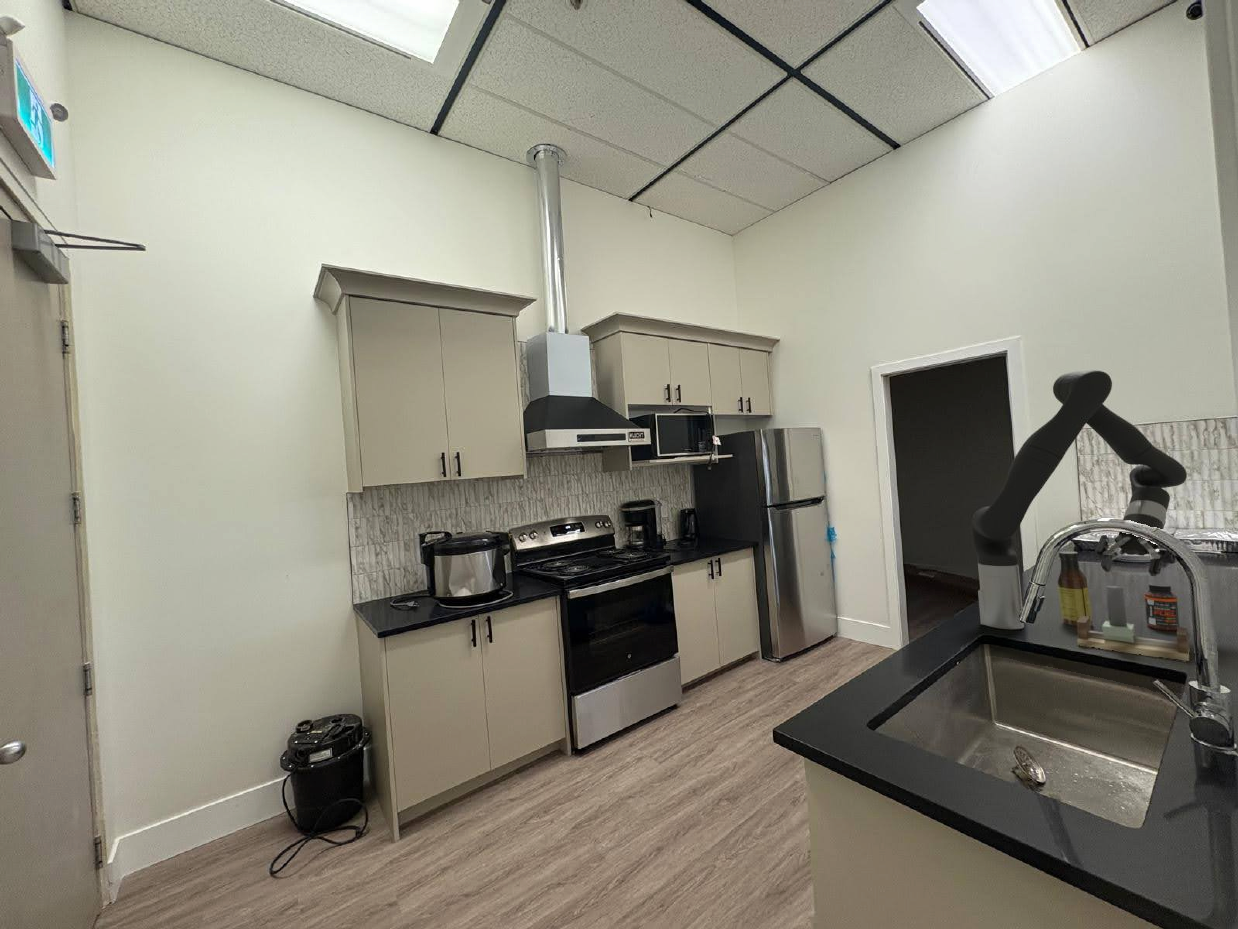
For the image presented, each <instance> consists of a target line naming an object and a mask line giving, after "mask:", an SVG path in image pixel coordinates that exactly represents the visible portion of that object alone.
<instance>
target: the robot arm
mask: <svg viewBox="0 0 1238 929" xmlns="http://www.w3.org/2000/svg"><path fill="white" fill-rule="evenodd" d="M1112 381H1113V380H1112V378H1111V376H1110V375H1109V373H1107V372H1104V370H1103V371H1102V370H1081V371H1073V372H1072V371H1071V372H1067V373H1066V372H1065V373H1064V374H1062V375H1060V376H1058V377H1057V379H1055V381H1054V383H1053V386H1052V392H1053V395H1054V397H1055V398H1056V400H1057V401H1058V402H1060V403H1061V404H1062V405H1061V406H1060V408H1059V410H1058V411H1057V413H1056V414H1055V415H1054V416H1052V418H1051V419H1049V420H1048V421H1047V422H1046V423H1045V424H1043V425H1042V426H1041V427H1040V428H1038V429H1037V430H1036V431H1034V432H1033V433H1032V434H1031V435H1030V436H1029V437H1028V438H1027V439H1026V440H1025V441H1024V443H1023V444H1022V445H1021V447H1020V449H1019V451H1018V452H1017V453H1016V455H1014V456H1015V457H1014V459H1013V460H1012V462H1011V464H1010V468H1009V470H1008V474H1007V477H1006V479H1005V480H1006V481H1005V483H1004V486H1003V487H1002V489H1001V491H1000V492H999V494H998V495H997V497H996V498H995V499H994V501H993V502H992V503H991V505H989V506H983V507H981V508H979V509H978V510H976V511H975V512H974V514H973V516H972V520H971V527H972V528H971V529H972V536H973V545H974V546H973V547H974V551H975V555H976V558H977V568H978V579H979V588H980V589H979V590H978V591H977V594H978V595H977V596H978V597H977V598H978V609H979V619H980V624H981V625H983V626H987V627H990V628H996V629H1002V630H1020V629H1023V628H1025V623H1021V622H1020V619H1019V615H1020V611H1021V609H1023V600H1022V591H1021V578H1020V569H1019V559H1018V558H1019V557H1018V556H1019V555H1018V554H1017V553H1016V550H1015V548H1014V545H1013V543H1014V542H1013V536H1014V535H1015V534H1016V533H1017V531H1018V530H1019V528H1020V526H1021V524H1022V522H1023V520H1024V518H1025V516H1026V514H1027V512H1028V510H1029V508H1030V506H1031V504H1032V503H1033V500H1034V499H1035V498H1036V496H1038V494H1039V493H1040V491H1042V489H1043V487H1044V485H1045V484H1047V481H1048V480H1049V479H1050V477H1051V476H1052V475H1053V474H1054V472H1055V470H1056V469H1057V467H1058V466H1059V464H1060V463H1061V461H1062V460H1063V459H1064V457H1065V455H1066V453H1067V452H1068V450H1069V449H1070V447H1071V446H1072V444H1073V443H1074V442H1075V440H1076V438H1077V437H1078V435H1079V434H1080V432H1081V431H1082V430H1083V428H1084V427H1085V426H1086V425H1088V426H1089V427H1090V428H1091V429H1092V430H1093V431H1094V432H1095V433H1097V434H1098V435H1099V437H1101V438H1102V440H1103V441H1105V443H1106V444H1108V446H1109V447H1110V448H1111V449H1112V450H1113V452H1114V453H1115V454H1116V455H1117V456H1118V458H1120V460H1121V461H1122V462H1123V463H1125V464H1127V465H1132V466H1135V465H1136V466H1135V467H1134V468H1132V470H1131V471H1130V473H1129V482H1130V488H1131V497H1130V500H1129V504H1128V506H1127V508H1126V510H1125V512H1124V515H1123V518H1122V521H1123V520H1131V521H1134V522H1137V523H1141V524H1146V525H1148V526H1150V527H1157V528H1160V529H1163V530H1164V528H1165V526H1166V523H1167V522H1166V520H1167V511H1168V507H1169V504H1170V500H1171V495H1170V494H1169V492H1168V491H1167V490H1165V489H1166V488H1172V487H1177V486H1180V485H1182V484H1184V483H1185V482H1186V480H1187V477H1188V475H1187V471H1186V469H1185V467H1184V466H1183V464H1182V463H1180V462H1179V461H1178V460H1177V459H1175V458H1173V457H1172V456H1170V455H1169V454H1166V453H1165V452H1163V451H1162V450H1160V449H1159V448H1157V447H1155V446H1154V445H1153V443H1151V441H1149V439H1148V438H1147V437H1146V436H1145V435H1144V434H1143V433H1142V432H1141V430H1140V429H1138V428H1137V427H1136V426H1135V425H1133V423H1131V422H1129V421H1128V420H1126V419H1124V418H1123V417H1121V416H1120V415H1118V414H1117V413H1115V412H1114V411H1112V410H1110V409H1109V407H1107V406H1106V405H1104V402H1105V401H1106V400H1107V398H1108V397H1109V395H1110V393H1111V391H1112V388H1113V382H1112ZM1164 488H1165V489H1164ZM1095 547H1096V548H1095V550H1094V552H1095V554H1096V555H1097V557H1098V558H1099V559H1101V562H1100V567H1101V568H1102V570H1103V571H1104V572H1106V573H1110V571H1111V568H1112V566H1113V562H1114V560H1116V559H1117V558H1122V557H1124V556H1125V555H1128V556H1129V555H1131V556H1134V555H1137V556H1145V555H1148V556H1149V557H1150V558H1151V560H1150V565H1149V567H1148V573H1149V575H1150V576H1151V577H1156V576H1157V575H1160V574H1161V570H1162V567H1163V565H1164V564H1175V563H1176V558H1177V557H1176V558H1174V556H1173V555H1171V554H1170V552H1168V551H1165V550H1164V554H1161V555H1160V554H1159V553H1158V552H1157V551H1156V550H1157V549H1158V548H1160V547H1158V546H1157V545H1156V544H1153V543H1151V542H1150V541H1146V540H1145V539H1143V538H1141V537H1136V536H1134V535H1132V534H1126V533H1122V532H1119V531H1118V534H1117V536H1115V537H1110V536H1109V537H1108V535H1106V534H1102V535H1101V536H1100V538H1099V540H1098V543H1097V545H1096V546H1095ZM1109 547H1110V548H1109Z"/></svg>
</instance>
